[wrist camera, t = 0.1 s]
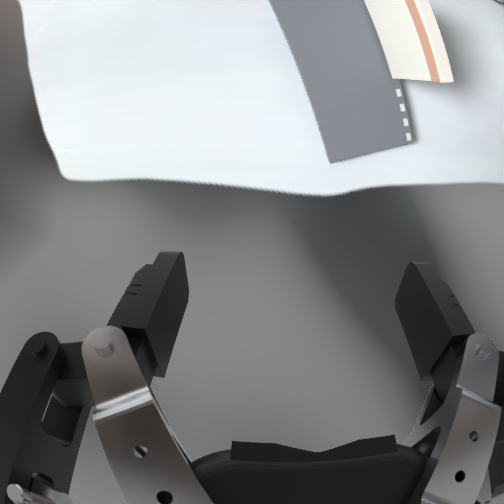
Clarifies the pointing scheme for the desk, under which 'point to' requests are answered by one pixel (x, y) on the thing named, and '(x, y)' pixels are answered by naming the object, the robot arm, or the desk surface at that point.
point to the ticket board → (345, 76)
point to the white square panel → (411, 39)
